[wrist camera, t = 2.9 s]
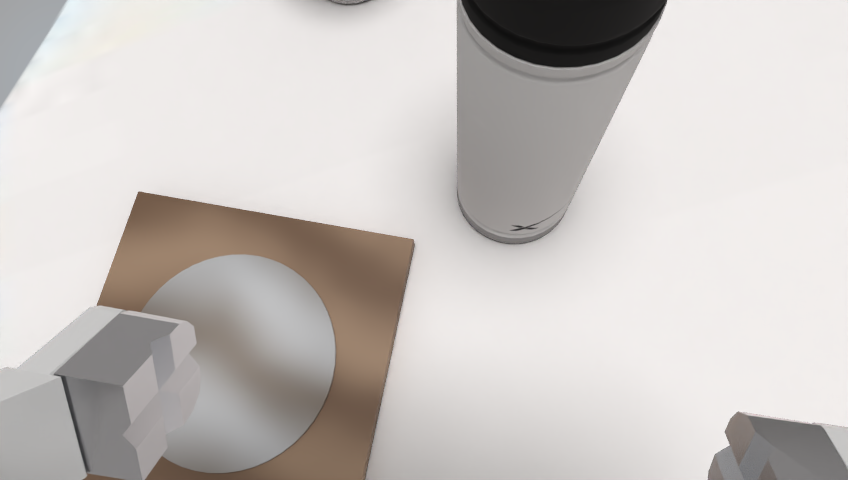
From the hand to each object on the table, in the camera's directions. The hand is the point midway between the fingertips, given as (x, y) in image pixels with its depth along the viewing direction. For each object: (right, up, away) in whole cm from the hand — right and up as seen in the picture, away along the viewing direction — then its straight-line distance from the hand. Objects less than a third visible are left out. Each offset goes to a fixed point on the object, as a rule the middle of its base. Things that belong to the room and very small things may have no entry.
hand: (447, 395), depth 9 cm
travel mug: (+5, +5, +25) cm, 26 cm away
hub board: (-10, -4, +23) cm, 25 cm away
